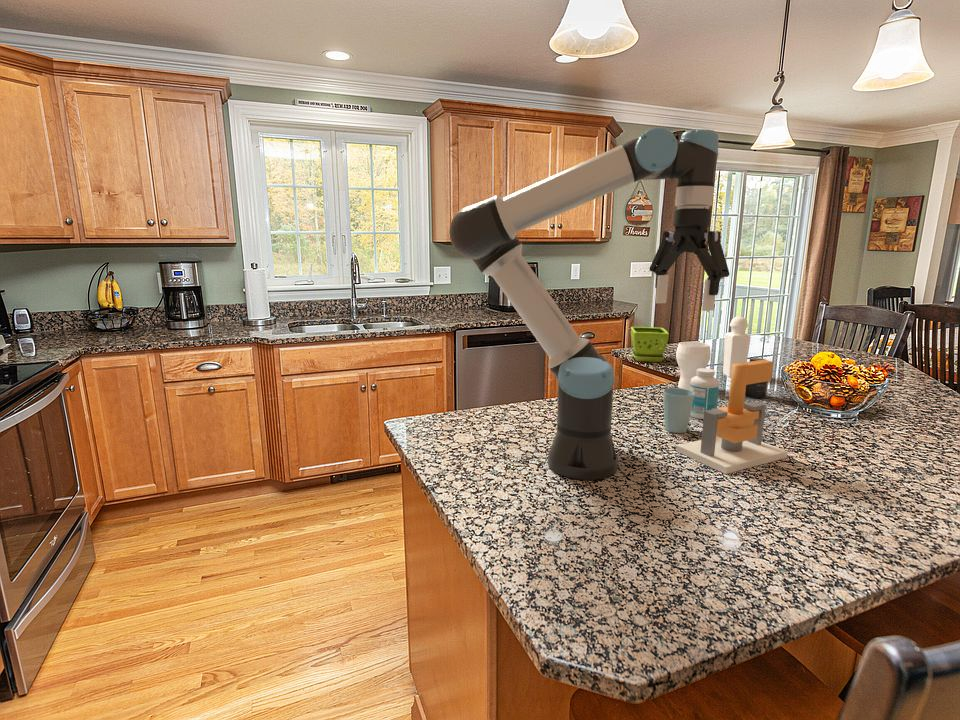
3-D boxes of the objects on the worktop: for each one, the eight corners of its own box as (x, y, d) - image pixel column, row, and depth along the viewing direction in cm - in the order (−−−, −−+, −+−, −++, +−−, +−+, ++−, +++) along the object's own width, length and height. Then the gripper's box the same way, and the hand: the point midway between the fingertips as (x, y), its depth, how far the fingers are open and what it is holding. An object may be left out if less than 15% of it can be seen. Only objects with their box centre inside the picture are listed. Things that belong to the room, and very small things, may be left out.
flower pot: (631, 362, 217) (633, 331, 214) (628, 355, 231) (630, 326, 228) (667, 363, 215) (669, 332, 212) (661, 356, 228) (664, 327, 225)
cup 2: (678, 382, 187) (682, 340, 184) (710, 386, 181) (714, 343, 178) (669, 388, 179) (673, 345, 175) (702, 394, 173) (706, 348, 169)
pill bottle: (711, 412, 154) (715, 367, 151) (719, 420, 147) (724, 373, 144) (684, 411, 155) (688, 366, 152) (691, 419, 148) (696, 372, 145)
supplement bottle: (767, 394, 171) (771, 358, 169) (765, 400, 166) (769, 362, 163) (743, 391, 175) (747, 356, 172) (741, 396, 169) (745, 360, 167)
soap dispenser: (746, 377, 192) (753, 317, 188) (728, 377, 193) (734, 317, 188) (738, 373, 199) (744, 315, 194) (720, 373, 199) (726, 315, 194)
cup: (687, 425, 144) (690, 388, 141) (694, 435, 136) (698, 396, 134) (658, 424, 145) (660, 387, 142) (663, 434, 137) (666, 395, 135)
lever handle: (775, 434, 124) (784, 364, 120) (726, 446, 117) (734, 372, 113) (745, 424, 131) (753, 357, 127) (697, 434, 124) (704, 364, 120)
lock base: (725, 474, 114) (730, 423, 111) (676, 451, 126) (679, 405, 124) (787, 457, 122) (793, 410, 120) (735, 437, 135) (739, 394, 132)
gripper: (756, 206, 105) (743, 313, 110) (663, 211, 127) (655, 299, 132) (730, 204, 102) (717, 314, 107) (638, 209, 124) (631, 301, 128)
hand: (683, 306), depth 119 cm, fingers open, 13 cm apart
